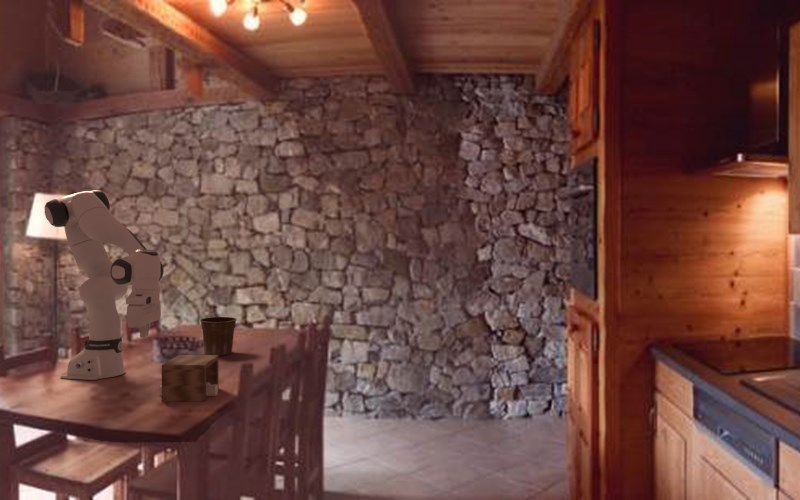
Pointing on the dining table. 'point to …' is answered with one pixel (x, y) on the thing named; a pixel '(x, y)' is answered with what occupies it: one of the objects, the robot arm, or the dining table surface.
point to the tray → (210, 389)
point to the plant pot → (218, 335)
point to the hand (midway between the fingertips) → (144, 336)
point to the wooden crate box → (188, 377)
